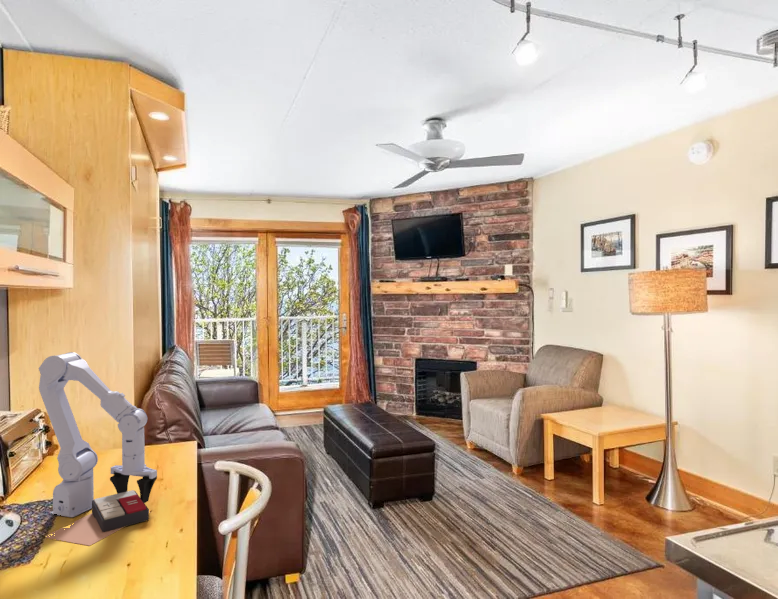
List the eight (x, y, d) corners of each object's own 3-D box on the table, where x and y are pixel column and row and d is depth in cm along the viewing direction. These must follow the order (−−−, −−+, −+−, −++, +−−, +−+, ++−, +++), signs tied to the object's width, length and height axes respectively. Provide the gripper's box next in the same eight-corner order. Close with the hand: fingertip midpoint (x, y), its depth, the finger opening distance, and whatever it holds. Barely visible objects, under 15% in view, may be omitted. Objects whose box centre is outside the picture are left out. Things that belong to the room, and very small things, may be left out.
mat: (89, 547, 120) (89, 545, 120) (42, 539, 125) (42, 537, 125) (154, 511, 140) (154, 509, 140) (111, 505, 145) (111, 503, 145)
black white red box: (102, 518, 127) (91, 497, 138) (102, 535, 127) (91, 512, 138) (149, 506, 134) (135, 487, 145) (149, 522, 134) (134, 502, 145)
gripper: (164, 451, 145) (164, 498, 145) (124, 447, 149) (124, 492, 149) (146, 458, 138) (146, 508, 138) (104, 454, 142) (104, 502, 142)
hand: (133, 500), depth 143 cm, fingers open, 7 cm apart
